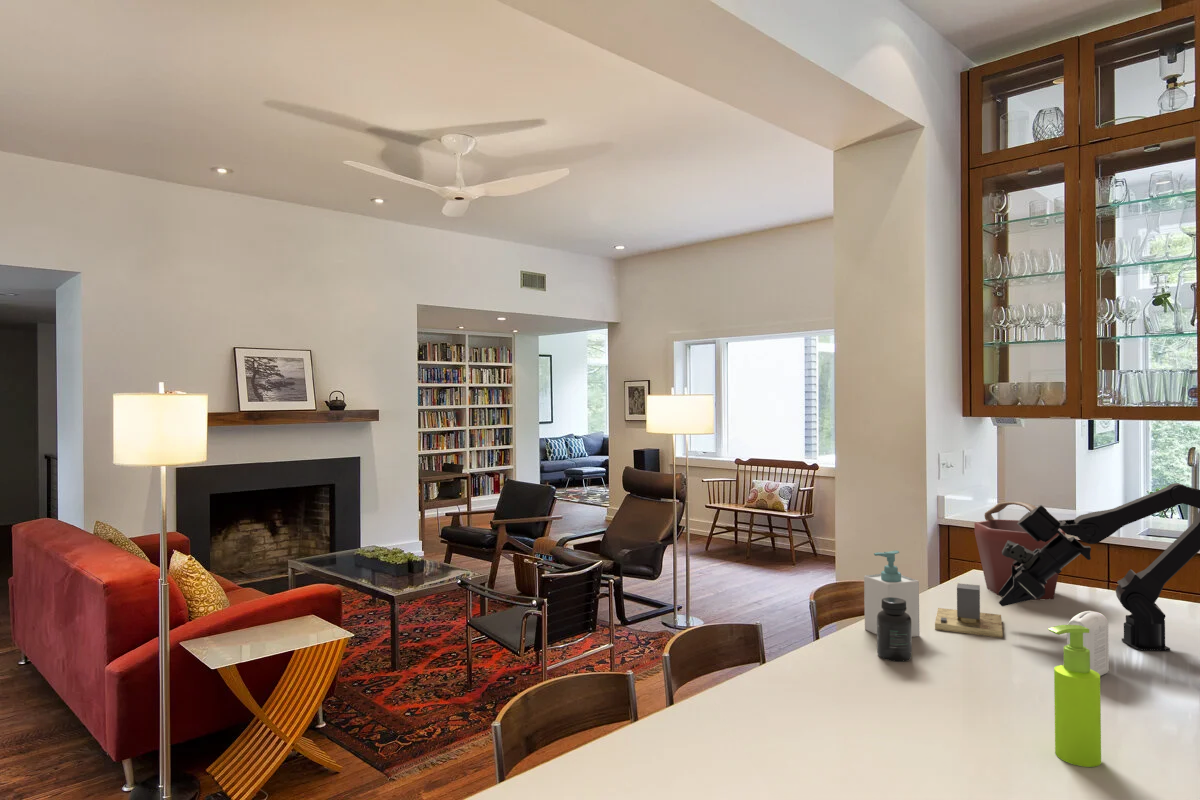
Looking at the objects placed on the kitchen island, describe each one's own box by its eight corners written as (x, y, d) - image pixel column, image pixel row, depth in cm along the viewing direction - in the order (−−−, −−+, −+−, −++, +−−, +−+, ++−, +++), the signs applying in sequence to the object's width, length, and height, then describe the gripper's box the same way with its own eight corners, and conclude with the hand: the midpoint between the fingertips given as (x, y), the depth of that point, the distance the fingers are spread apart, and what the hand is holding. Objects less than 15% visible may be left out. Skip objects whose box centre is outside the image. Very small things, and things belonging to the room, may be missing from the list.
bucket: (965, 580, 219) (965, 496, 219) (1045, 581, 216) (1044, 497, 216) (998, 603, 194) (997, 509, 194) (1088, 605, 191) (1087, 509, 191)
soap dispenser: (1040, 749, 114) (1038, 621, 114) (1081, 747, 114) (1080, 619, 114) (1067, 768, 108) (1065, 633, 108) (1111, 766, 109) (1109, 631, 109)
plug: (980, 622, 177) (979, 585, 177) (979, 628, 173) (979, 590, 173) (958, 619, 179) (957, 583, 179) (957, 625, 175) (956, 587, 175)
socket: (1001, 620, 179) (1001, 612, 179) (1002, 637, 166) (1002, 628, 166) (938, 613, 185) (938, 605, 185) (935, 629, 173) (934, 620, 173)
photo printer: (1088, 666, 149) (1087, 605, 149) (1112, 672, 145) (1111, 610, 145) (1063, 677, 143) (1063, 614, 143) (1088, 684, 139) (1087, 619, 139)
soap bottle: (863, 629, 174) (862, 549, 174) (894, 625, 176) (893, 546, 176) (888, 640, 165) (887, 556, 165) (920, 636, 168) (919, 553, 168)
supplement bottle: (875, 649, 160) (875, 595, 160) (909, 652, 158) (908, 596, 158) (878, 660, 153) (878, 603, 153) (914, 663, 151) (913, 605, 151)
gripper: (1022, 524, 179) (973, 565, 184) (1026, 537, 162) (971, 582, 167) (1061, 559, 175) (1009, 600, 180) (1069, 576, 158) (1012, 620, 163)
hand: (1000, 599), depth 173 cm, fingers open, 9 cm apart
